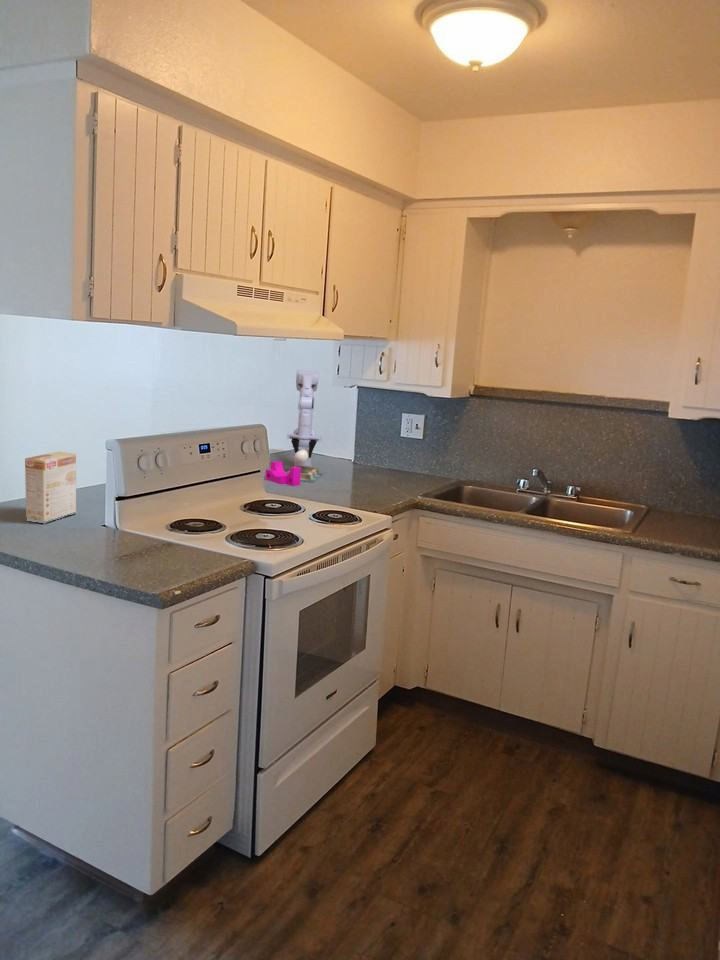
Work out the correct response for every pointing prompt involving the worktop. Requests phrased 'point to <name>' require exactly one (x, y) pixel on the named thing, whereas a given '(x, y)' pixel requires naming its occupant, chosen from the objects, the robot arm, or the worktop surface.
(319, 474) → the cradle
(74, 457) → the coffeecake box
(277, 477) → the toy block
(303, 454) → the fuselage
